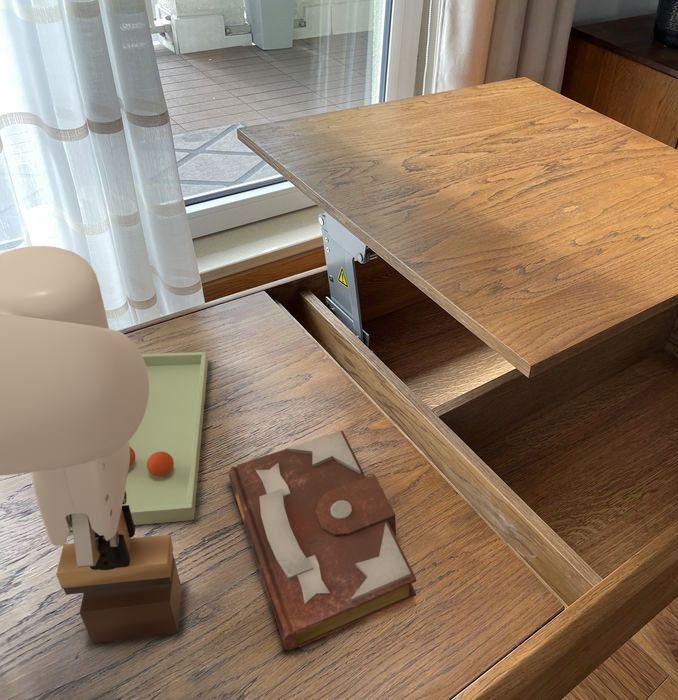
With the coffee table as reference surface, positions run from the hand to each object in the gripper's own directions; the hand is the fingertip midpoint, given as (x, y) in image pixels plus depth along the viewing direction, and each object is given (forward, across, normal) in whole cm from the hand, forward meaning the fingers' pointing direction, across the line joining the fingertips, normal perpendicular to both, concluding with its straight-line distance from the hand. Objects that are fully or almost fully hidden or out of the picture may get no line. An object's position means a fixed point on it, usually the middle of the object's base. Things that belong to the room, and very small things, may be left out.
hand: (113, 549), depth 65 cm
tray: (+12, -26, -2) cm, 29 cm away
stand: (+13, -1, 0) cm, 13 cm away
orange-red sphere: (+10, -19, +1) cm, 22 cm away
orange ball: (+10, -21, -4) cm, 24 cm away
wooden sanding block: (+4, 0, 0) cm, 4 cm away
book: (+13, -8, +19) cm, 24 cm away
